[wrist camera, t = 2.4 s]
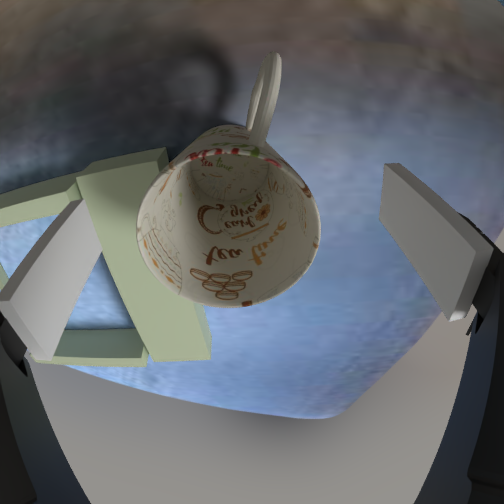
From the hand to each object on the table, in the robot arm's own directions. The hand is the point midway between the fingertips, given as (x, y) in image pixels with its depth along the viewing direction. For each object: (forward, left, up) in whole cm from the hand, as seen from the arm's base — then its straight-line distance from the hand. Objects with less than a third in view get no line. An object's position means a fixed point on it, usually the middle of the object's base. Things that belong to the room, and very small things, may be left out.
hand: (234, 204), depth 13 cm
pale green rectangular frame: (+10, -16, -10) cm, 21 cm away
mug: (0, 0, -10) cm, 10 cm away
